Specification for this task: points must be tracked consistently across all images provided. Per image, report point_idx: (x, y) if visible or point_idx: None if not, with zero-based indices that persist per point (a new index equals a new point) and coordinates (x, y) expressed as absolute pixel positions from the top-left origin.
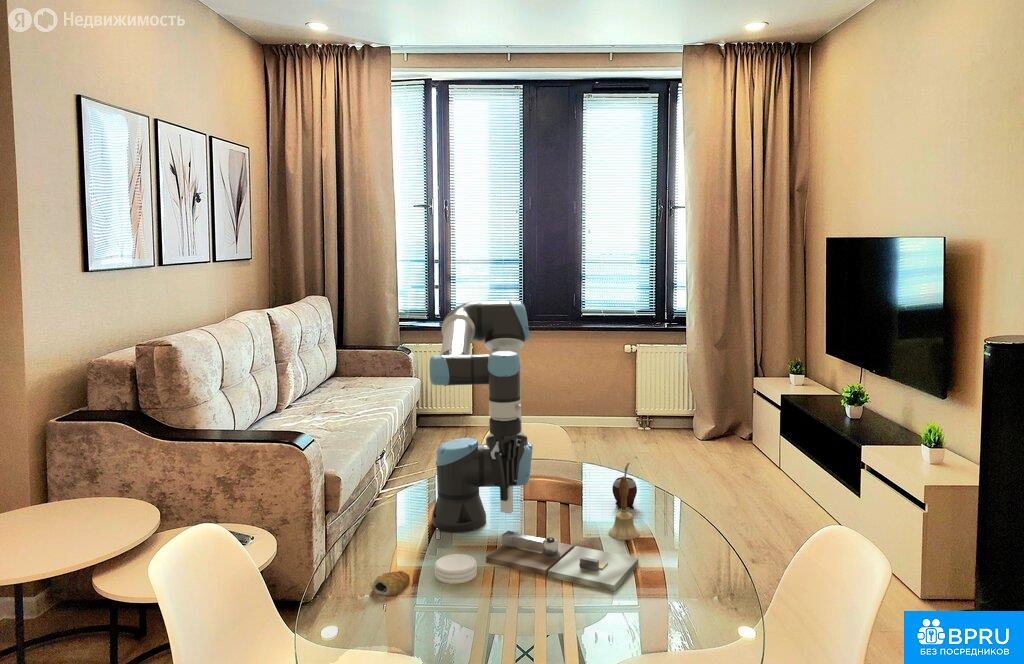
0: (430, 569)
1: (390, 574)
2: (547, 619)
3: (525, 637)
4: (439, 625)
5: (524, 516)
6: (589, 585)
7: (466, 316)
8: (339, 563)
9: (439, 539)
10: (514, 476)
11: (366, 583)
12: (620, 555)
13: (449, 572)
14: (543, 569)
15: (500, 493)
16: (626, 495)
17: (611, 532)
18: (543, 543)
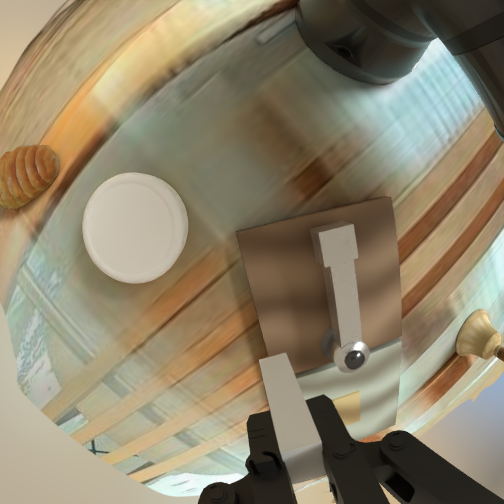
0: (118, 156)
1: (9, 174)
2: (160, 443)
3: (109, 441)
4: (29, 343)
5: (461, 135)
6: None
7: None
8: (51, 26)
9: (259, 45)
10: (383, 482)
11: (17, 126)
12: (395, 407)
13: (90, 256)
14: None
15: (250, 444)
16: None
17: (467, 328)
18: (340, 348)
